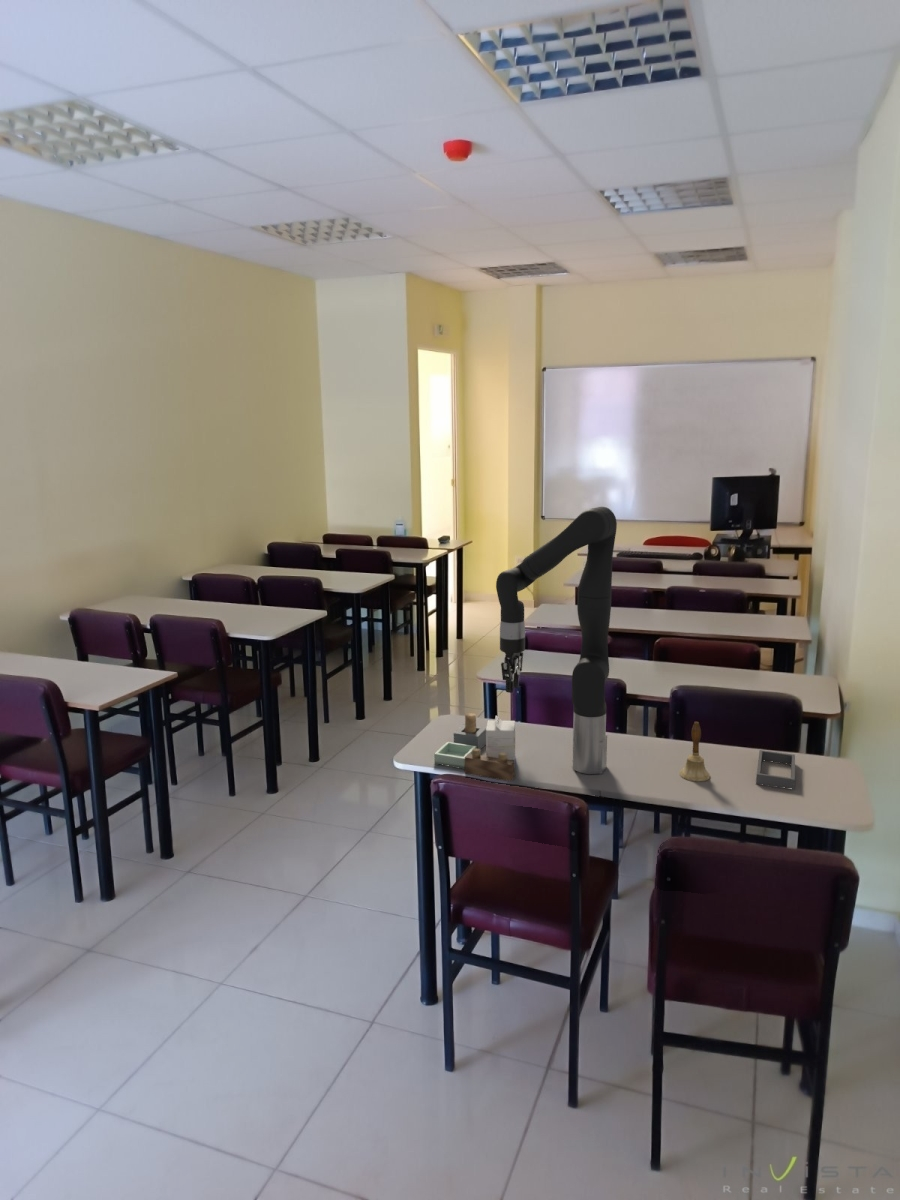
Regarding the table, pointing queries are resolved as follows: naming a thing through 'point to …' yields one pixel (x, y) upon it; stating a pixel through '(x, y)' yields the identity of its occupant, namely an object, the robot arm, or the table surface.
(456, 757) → the tray
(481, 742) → the socket block
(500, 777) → the peg rack
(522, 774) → the table surface
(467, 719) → the dowel
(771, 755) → the frame
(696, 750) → the hand bell
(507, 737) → the ink box
